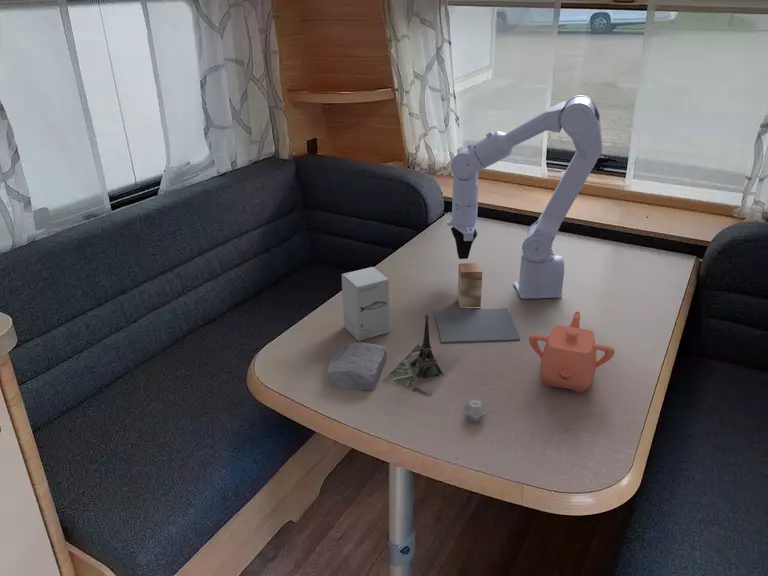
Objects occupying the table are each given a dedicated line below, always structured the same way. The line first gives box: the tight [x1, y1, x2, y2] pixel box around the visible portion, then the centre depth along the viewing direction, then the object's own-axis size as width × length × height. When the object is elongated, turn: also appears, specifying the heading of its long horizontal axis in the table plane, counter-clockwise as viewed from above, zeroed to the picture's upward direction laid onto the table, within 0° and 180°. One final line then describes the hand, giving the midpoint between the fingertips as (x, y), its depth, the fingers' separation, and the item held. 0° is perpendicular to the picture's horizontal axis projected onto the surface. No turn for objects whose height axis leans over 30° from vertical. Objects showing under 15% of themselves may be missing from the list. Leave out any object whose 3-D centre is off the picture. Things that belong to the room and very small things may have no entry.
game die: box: [463, 398, 487, 423], centre depth 105 cm, size 4×4×3 cm
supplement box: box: [341, 266, 390, 342], centre depth 129 cm, size 7×7×13 cm
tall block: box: [457, 262, 483, 309], centre depth 139 cm, size 4×4×9 cm
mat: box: [434, 307, 521, 344], centre depth 132 cm, size 16×13×1 cm
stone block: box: [326, 341, 388, 392], centre depth 117 cm, size 12×5×10 cm
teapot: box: [528, 311, 616, 394], centre depth 112 cm, size 14×12×10 cm
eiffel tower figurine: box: [389, 314, 445, 397], centre depth 116 cm, size 15×10×13 cm
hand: (462, 257), depth 148 cm, fingers closed
